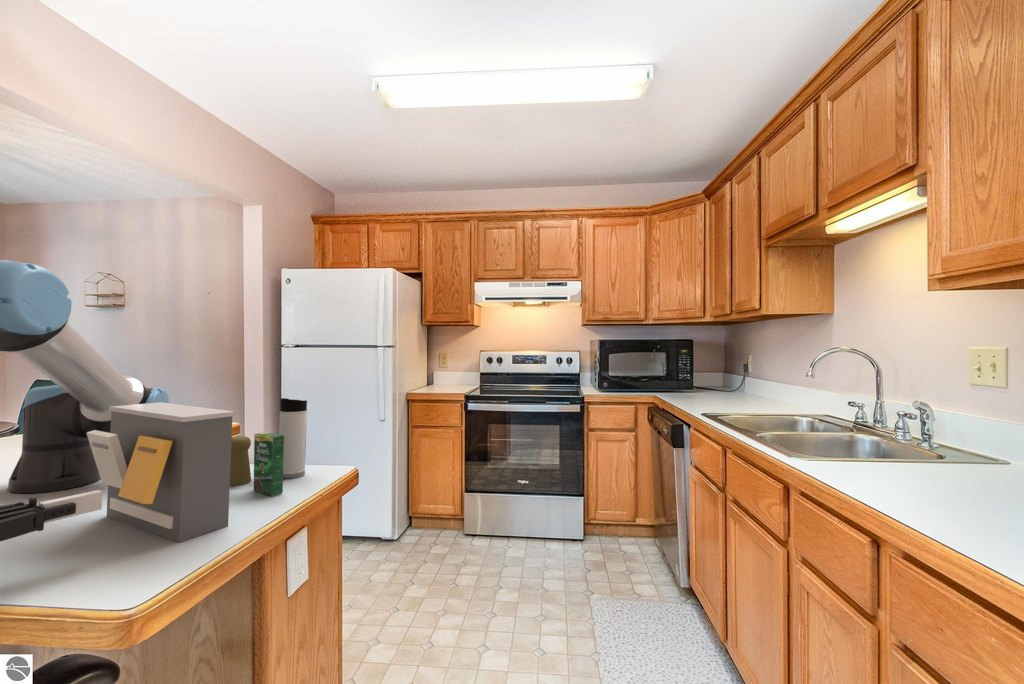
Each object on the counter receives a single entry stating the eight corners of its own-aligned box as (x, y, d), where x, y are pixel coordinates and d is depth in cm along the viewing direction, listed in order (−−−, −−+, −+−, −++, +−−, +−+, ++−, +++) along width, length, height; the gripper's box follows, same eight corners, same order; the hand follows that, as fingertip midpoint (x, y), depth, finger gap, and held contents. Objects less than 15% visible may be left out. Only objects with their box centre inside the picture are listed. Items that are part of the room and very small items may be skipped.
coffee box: (251, 490, 100) (253, 432, 100) (264, 487, 102) (266, 430, 103) (270, 497, 95) (272, 437, 96) (283, 493, 98) (285, 435, 98)
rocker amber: (142, 504, 69) (163, 440, 72) (116, 495, 73) (137, 435, 75) (152, 503, 71) (172, 441, 73) (126, 495, 74) (147, 436, 77)
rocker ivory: (122, 490, 77) (106, 437, 75) (100, 483, 80) (84, 433, 78) (132, 486, 78) (117, 434, 76) (110, 479, 82) (94, 429, 79)
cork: (215, 484, 103) (217, 437, 104) (238, 477, 109) (240, 433, 109) (235, 487, 102) (237, 440, 102) (257, 480, 107) (259, 435, 108)
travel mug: (270, 477, 110) (273, 397, 110) (291, 471, 116) (294, 395, 117) (289, 480, 108) (292, 399, 108) (310, 473, 114) (312, 397, 114)
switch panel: (177, 544, 72) (182, 417, 72) (103, 516, 82) (108, 406, 83) (230, 525, 80) (235, 411, 80) (156, 503, 90) (161, 402, 91)
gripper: (-200, 585, 49) (78, 516, 70) (-174, 617, 43) (120, 532, 65) (-196, 517, 49) (80, 469, 71) (-169, 541, 44) (122, 481, 65)
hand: (99, 499), depth 68 cm, fingers closed
